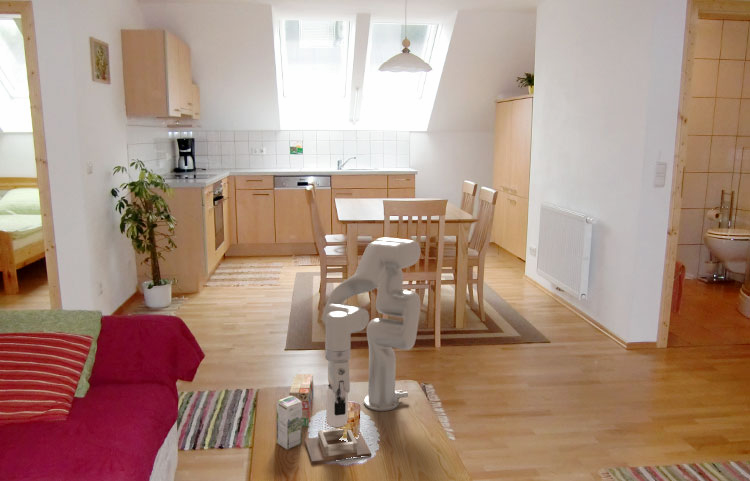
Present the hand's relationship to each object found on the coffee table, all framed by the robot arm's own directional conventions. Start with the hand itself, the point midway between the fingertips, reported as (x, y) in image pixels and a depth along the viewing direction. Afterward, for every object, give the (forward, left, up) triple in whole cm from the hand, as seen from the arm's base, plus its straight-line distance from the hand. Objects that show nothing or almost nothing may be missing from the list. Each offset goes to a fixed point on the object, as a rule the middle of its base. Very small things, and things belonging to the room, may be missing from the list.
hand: (337, 408), depth 176 cm
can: (0, 0, -5) cm, 5 cm away
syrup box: (+14, -7, -14) cm, 20 cm away
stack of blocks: (+6, -27, -14) cm, 31 cm away
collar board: (0, 0, -13) cm, 13 cm away
